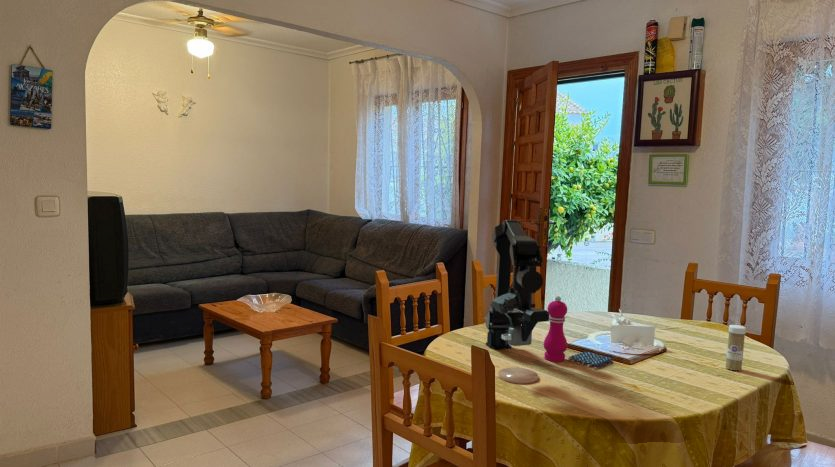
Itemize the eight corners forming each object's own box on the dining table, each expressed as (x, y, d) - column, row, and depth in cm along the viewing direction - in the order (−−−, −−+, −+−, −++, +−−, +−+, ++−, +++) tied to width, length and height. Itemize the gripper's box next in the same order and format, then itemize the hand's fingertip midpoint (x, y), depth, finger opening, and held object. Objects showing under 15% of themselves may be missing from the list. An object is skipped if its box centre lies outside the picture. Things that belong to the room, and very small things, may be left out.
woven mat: (583, 356, 191) (584, 349, 191) (614, 364, 184) (614, 358, 184) (566, 362, 184) (566, 356, 184) (597, 371, 177) (597, 364, 176)
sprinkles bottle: (726, 370, 180) (729, 327, 178) (724, 365, 184) (728, 323, 183) (743, 372, 178) (747, 328, 177) (741, 368, 182) (745, 325, 181)
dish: (584, 349, 198) (586, 316, 197) (591, 331, 221) (593, 301, 220) (663, 360, 189) (666, 325, 188) (663, 339, 212) (665, 308, 211)
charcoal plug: (526, 340, 171) (526, 324, 170) (534, 344, 167) (535, 328, 167) (499, 343, 167) (499, 327, 167) (506, 347, 164) (507, 331, 163)
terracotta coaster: (523, 368, 176) (523, 365, 176) (545, 381, 166) (545, 378, 166) (491, 372, 171) (491, 369, 171) (512, 385, 162) (512, 382, 161)
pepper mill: (567, 357, 188) (571, 295, 186) (565, 363, 181) (569, 299, 179) (544, 354, 190) (547, 292, 188) (541, 360, 184) (544, 297, 181)
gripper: (480, 279, 171) (478, 332, 173) (516, 293, 154) (513, 351, 156) (513, 278, 175) (511, 329, 177) (552, 290, 159) (549, 347, 160)
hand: (520, 339), depth 167 cm, fingers closed on charcoal plug, 4 cm apart
